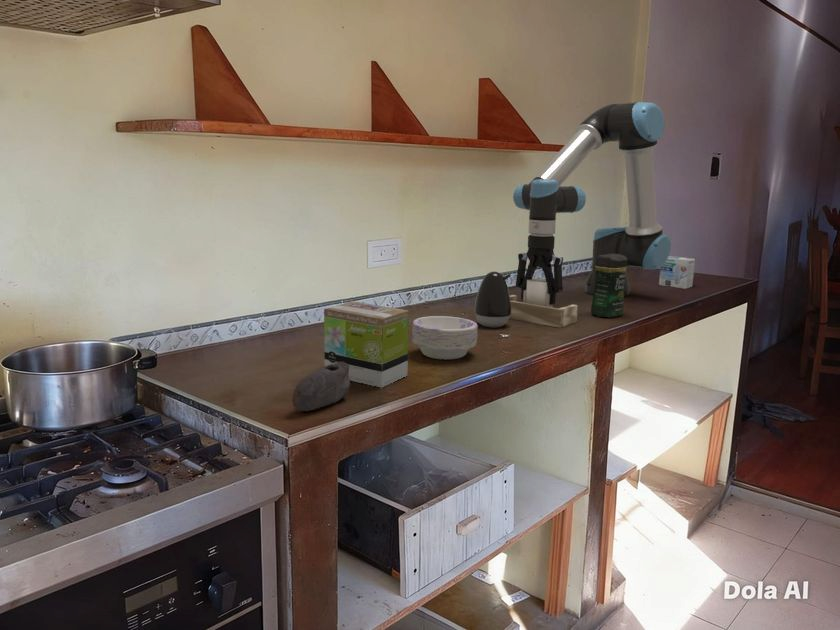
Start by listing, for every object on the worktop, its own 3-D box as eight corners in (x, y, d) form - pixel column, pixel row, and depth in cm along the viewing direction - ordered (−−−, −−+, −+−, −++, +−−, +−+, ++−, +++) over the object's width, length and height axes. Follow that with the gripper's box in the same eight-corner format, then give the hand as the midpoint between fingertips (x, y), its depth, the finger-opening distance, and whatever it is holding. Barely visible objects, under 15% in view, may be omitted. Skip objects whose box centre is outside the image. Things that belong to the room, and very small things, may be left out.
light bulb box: (658, 285, 266) (660, 257, 264) (665, 283, 271) (667, 255, 269) (686, 289, 260) (689, 260, 257) (692, 286, 265) (695, 258, 262)
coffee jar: (608, 319, 206) (613, 256, 202) (586, 314, 211) (590, 253, 207) (627, 315, 212) (632, 254, 208) (605, 311, 218) (610, 251, 214)
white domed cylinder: (533, 310, 210) (534, 277, 208) (553, 314, 206) (555, 280, 204) (520, 314, 205) (522, 280, 203) (541, 317, 201) (543, 283, 198)
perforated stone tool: (304, 420, 122) (303, 382, 121) (282, 414, 125) (281, 376, 123) (358, 397, 134) (358, 362, 133) (337, 392, 137) (337, 358, 136)
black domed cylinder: (518, 327, 194) (521, 273, 190) (487, 331, 189) (489, 275, 185) (497, 320, 202) (499, 267, 199) (466, 323, 197) (468, 270, 194)
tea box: (322, 376, 147) (321, 307, 144) (351, 365, 155) (351, 299, 152) (382, 389, 139) (382, 316, 136) (409, 377, 147) (410, 308, 144)
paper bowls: (489, 355, 165) (491, 322, 163) (444, 367, 155) (445, 332, 153) (443, 343, 176) (444, 312, 174) (398, 353, 165) (398, 320, 164)
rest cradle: (511, 310, 215) (512, 294, 214) (576, 322, 201) (577, 305, 200) (494, 315, 208) (494, 299, 207) (560, 327, 194) (561, 310, 193)
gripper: (505, 232, 204) (501, 310, 209) (566, 238, 191) (561, 320, 196) (519, 231, 209) (515, 306, 214) (579, 236, 197) (574, 316, 202)
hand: (537, 313), depth 205 cm, fingers closed on white domed cylinder, 7 cm apart
